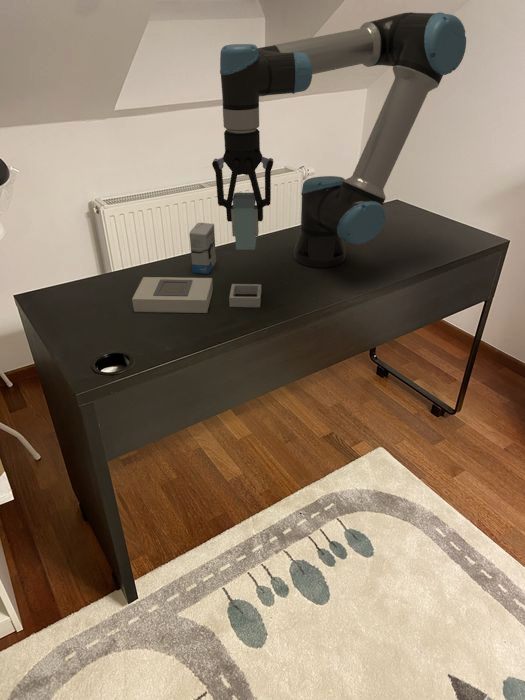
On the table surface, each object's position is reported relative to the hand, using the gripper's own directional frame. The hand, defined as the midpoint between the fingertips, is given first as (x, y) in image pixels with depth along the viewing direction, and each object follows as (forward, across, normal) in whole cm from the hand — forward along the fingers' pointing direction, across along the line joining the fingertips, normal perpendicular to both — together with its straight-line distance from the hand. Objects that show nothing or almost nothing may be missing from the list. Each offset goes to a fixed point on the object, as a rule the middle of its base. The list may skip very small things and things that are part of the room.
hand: (245, 233), depth 124 cm
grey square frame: (+17, +1, 0) cm, 18 cm away
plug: (+3, 0, 0) cm, 3 cm away
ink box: (+18, +14, -19) cm, 29 cm away
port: (+17, +19, +1) cm, 25 cm away
